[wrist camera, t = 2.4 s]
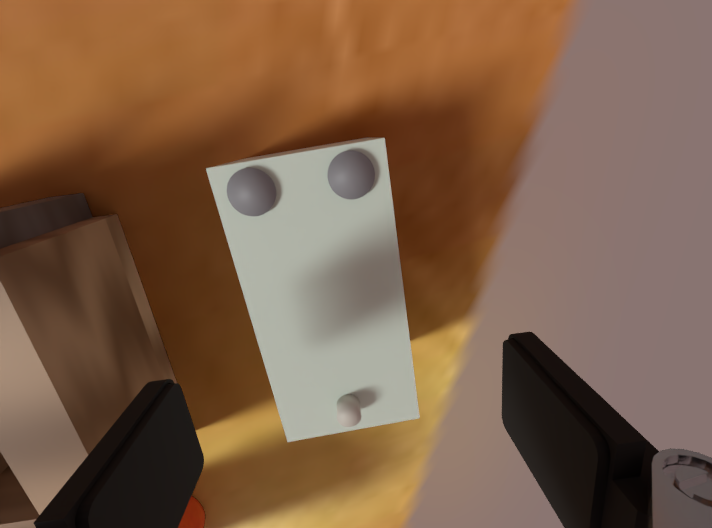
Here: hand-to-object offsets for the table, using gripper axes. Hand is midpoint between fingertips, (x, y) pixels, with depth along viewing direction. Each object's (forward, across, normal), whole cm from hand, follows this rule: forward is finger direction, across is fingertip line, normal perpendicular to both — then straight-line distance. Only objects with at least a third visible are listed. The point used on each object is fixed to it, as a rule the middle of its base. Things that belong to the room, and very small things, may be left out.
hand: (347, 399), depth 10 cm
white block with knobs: (+10, +1, -1) cm, 10 cm away
